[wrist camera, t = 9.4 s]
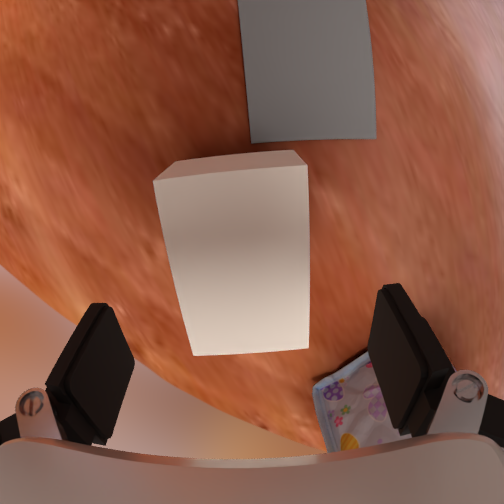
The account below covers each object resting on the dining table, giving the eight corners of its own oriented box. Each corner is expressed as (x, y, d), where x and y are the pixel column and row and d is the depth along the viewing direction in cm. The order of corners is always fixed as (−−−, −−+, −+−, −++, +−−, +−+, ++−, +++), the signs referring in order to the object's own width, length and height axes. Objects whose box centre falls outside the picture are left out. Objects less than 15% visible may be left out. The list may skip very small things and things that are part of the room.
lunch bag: (471, 385, 35) (535, 526, 12) (377, 441, 40) (411, 586, 16) (436, 296, 27) (566, 528, 4) (300, 382, 32) (330, 623, 8)
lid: (175, 161, 17) (152, 180, 13) (293, 149, 17) (307, 165, 13) (202, 309, 21) (193, 355, 17) (298, 302, 21) (308, 348, 17)
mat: (236, -14, 16) (236, -16, 16) (361, -12, 16) (363, -13, 15) (251, 142, 21) (251, 143, 21) (374, 138, 21) (376, 139, 21)
